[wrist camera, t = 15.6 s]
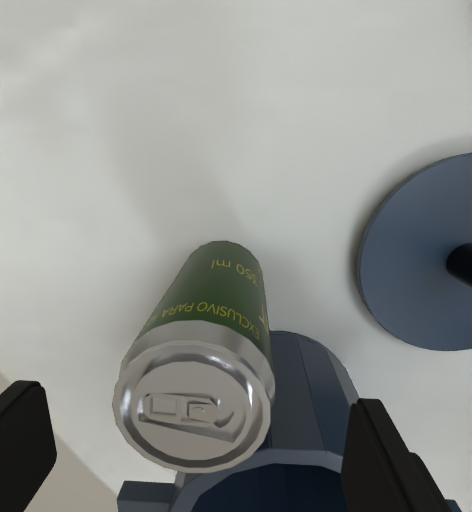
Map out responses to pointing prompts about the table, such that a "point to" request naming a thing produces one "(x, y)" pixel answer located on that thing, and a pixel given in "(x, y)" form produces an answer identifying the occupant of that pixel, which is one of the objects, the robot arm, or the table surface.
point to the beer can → (201, 367)
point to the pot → (276, 446)
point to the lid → (422, 258)
